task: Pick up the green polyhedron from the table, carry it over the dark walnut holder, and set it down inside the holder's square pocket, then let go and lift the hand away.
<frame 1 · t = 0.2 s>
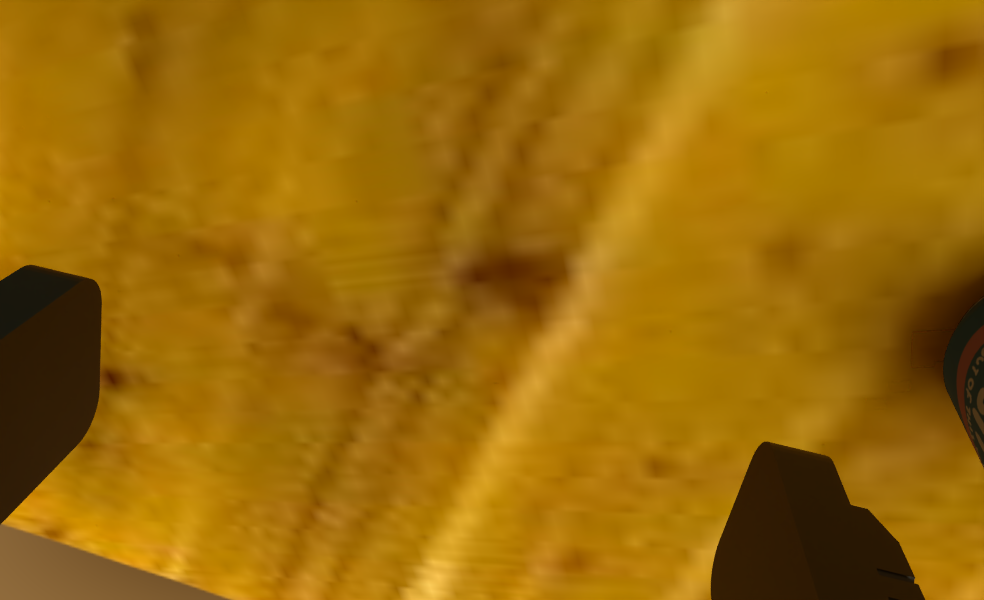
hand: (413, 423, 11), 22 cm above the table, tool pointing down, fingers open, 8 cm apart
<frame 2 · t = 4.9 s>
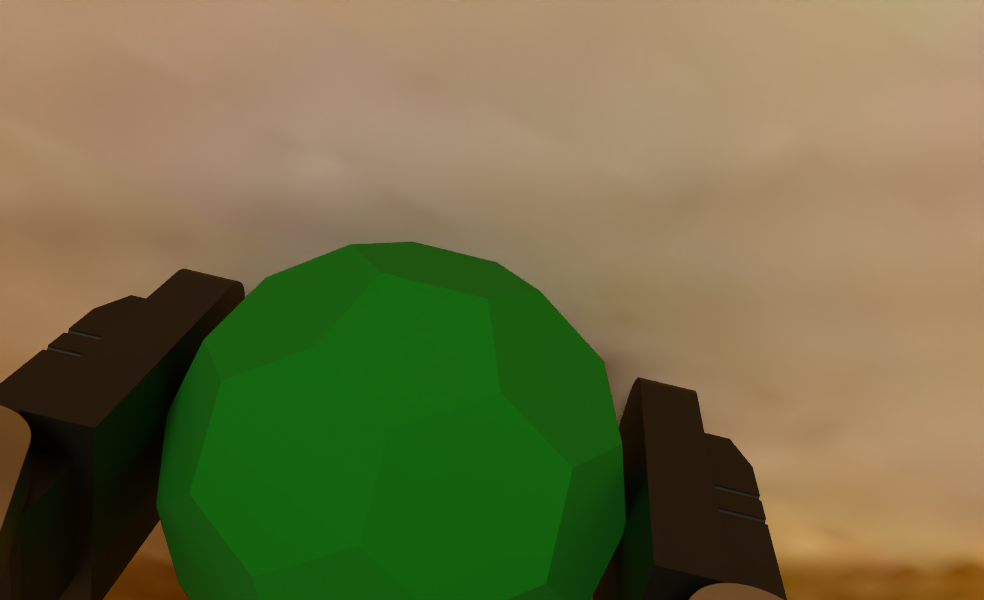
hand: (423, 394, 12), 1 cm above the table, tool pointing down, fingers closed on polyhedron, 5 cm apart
polyhedron: (438, 359, 12), on the table, touching gripper
when the fingers open (3 cm above the table, at t = 10.4 s): polyhedron drops 1 cm, resting on walnut holder.
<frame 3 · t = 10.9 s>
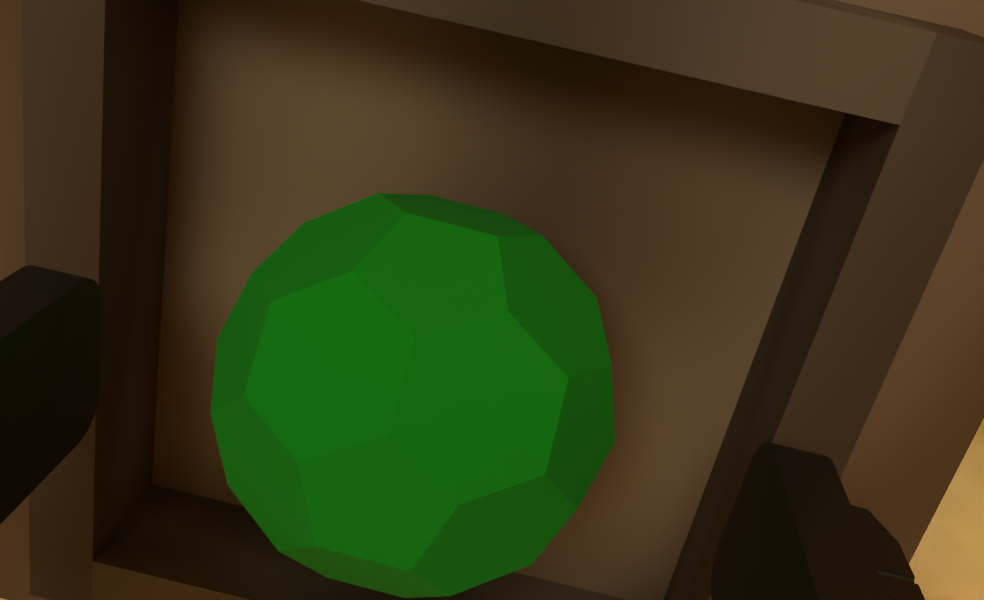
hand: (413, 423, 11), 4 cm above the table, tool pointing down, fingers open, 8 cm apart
polyhedron: (450, 307, 14), point 1 cm above the table, touching walnut holder
walnut holder: (462, 289, 15), on the table
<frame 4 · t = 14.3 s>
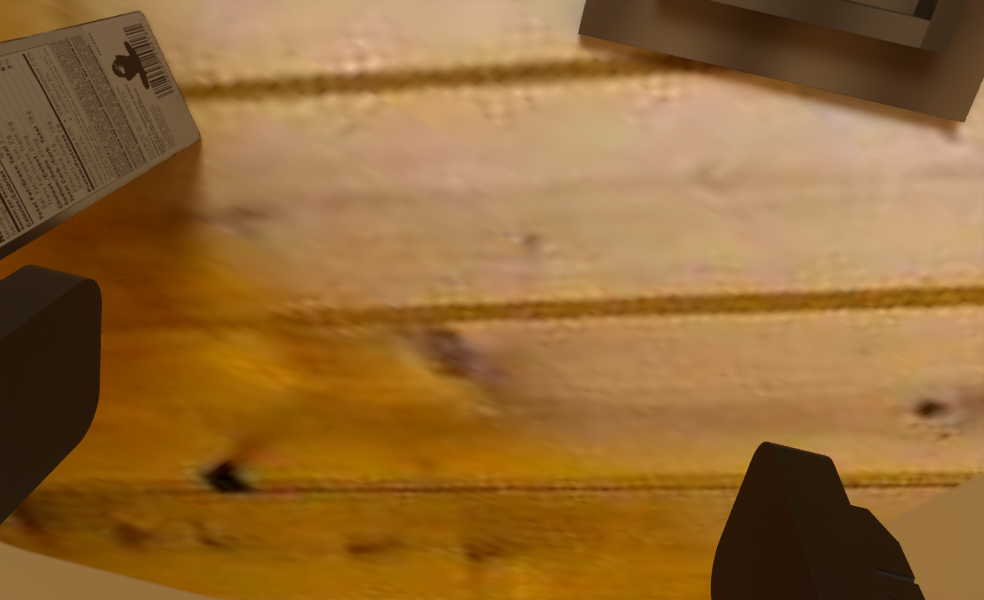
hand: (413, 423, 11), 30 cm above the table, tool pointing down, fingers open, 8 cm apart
coffee box: (93, 102, 42), on the table
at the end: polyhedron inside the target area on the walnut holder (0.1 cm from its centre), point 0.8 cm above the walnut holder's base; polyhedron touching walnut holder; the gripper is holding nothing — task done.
